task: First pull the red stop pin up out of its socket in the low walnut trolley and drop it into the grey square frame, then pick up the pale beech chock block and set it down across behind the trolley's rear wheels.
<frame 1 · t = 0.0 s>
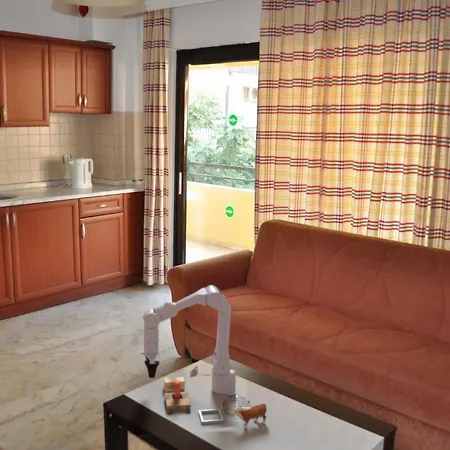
hand: (151, 373, 218), 10 cm above the table, fingers open, 7 cm apart
bracket: (202, 378, 238), on the table
stop pin: (177, 401, 215), point 1 cm above the table, touching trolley
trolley: (177, 406, 213), on the table
chock block: (174, 391, 225), on the table
grey square frame: (210, 420, 204), on the table
bull figurine: (250, 425, 202), on the table
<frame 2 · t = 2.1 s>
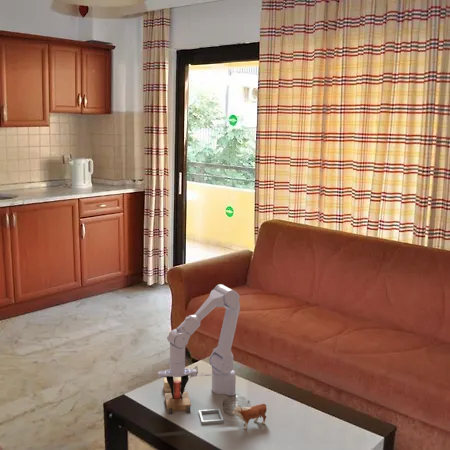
hand: (177, 393, 214), 4 cm above the table, fingers closed on stop pin, 3 cm apart
stop pin: (177, 401, 215), point 1 cm above the table, touching gripper, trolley
everything else where it was.
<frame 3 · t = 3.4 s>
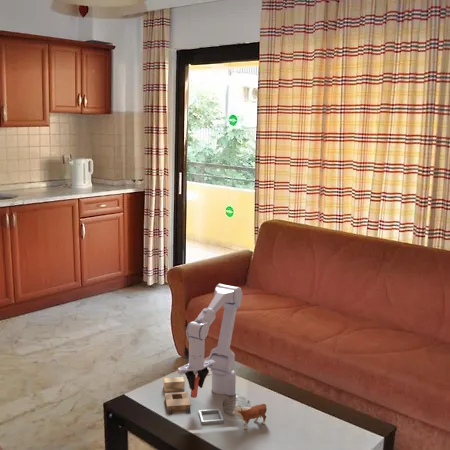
hand: (196, 387, 207), 10 cm above the table, fingers closed on stop pin, 3 cm apart
stop pin: (193, 396, 208), point 7 cm above the table, tilted 6°, touching gripper
everything else where it was.
when the fingers open (6 cm above the table, at t = 4.8 s): stop pin drops 2 cm, resting on grey square frame.
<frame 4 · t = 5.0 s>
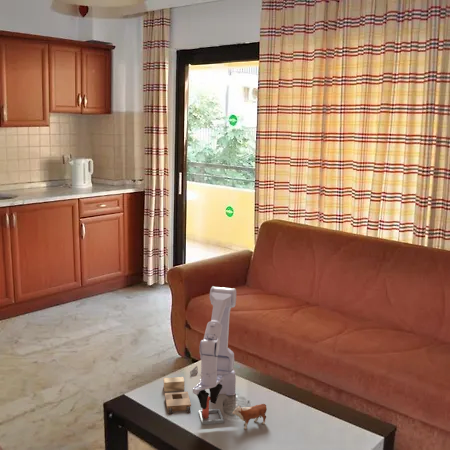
hand: (208, 405, 204), 6 cm above the table, fingers open, 5 cm apart
stop pin: (205, 417, 205), point 1 cm above the table, touching grey square frame
everything else where it was.
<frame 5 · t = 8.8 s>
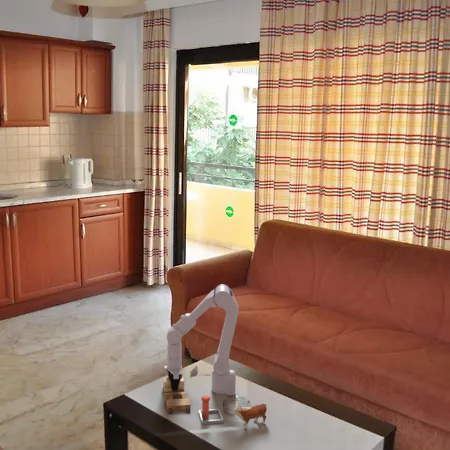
hand: (174, 387, 225), 1 cm above the table, fingers closed on chock block, 4 cm apart
chock block: (173, 390, 225), on the table, touching gripper
everything else where it was.
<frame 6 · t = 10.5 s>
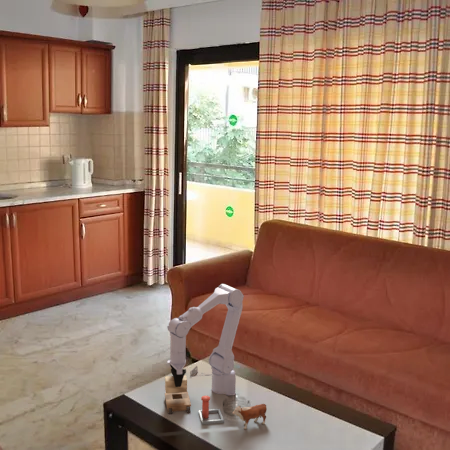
hand: (177, 383, 211), 9 cm above the table, fingers closed on chock block, 4 cm apart
chock block: (176, 390, 212), point 7 cm above the table, touching gripper
everything else where it was.
when the fingers open (3 cm above the table, at t = 12.6 s): chock block stays where it is, on the table.
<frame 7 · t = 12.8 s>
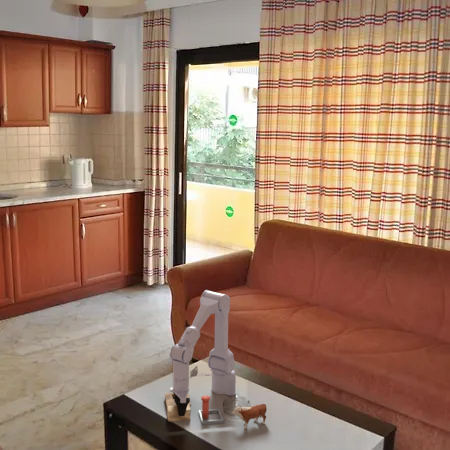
hand: (180, 411, 203), 3 cm above the table, fingers open, 6 cm apart
chock block: (178, 420, 204), on the table
everything else where it was.
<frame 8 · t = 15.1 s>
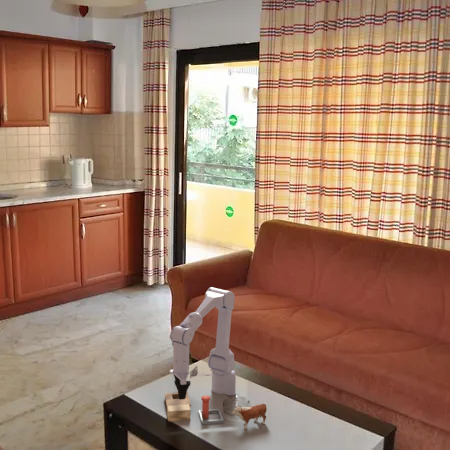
hand: (180, 393, 202), 10 cm above the table, fingers open, 7 cm apart
nothing on the table moved.
at the end: chock block inside the target area (0.7 cm from its centre), on the table; stop pin inside the target area (2.1 cm from its centre), point 0.6 cm above the table; the gripper is holding nothing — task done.
